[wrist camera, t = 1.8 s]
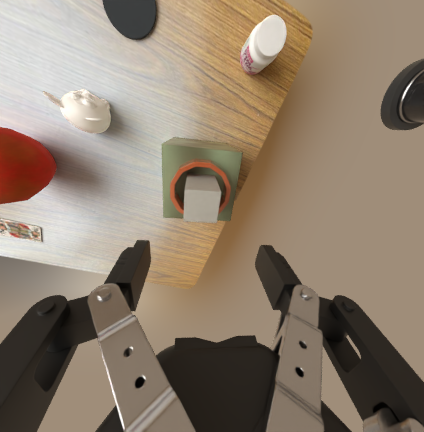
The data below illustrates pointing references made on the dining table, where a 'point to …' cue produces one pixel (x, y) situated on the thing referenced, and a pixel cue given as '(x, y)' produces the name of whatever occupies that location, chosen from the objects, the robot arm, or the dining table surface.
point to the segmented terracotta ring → (190, 165)
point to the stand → (198, 169)
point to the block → (201, 198)
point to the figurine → (84, 110)
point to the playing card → (20, 230)
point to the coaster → (131, 16)
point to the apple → (23, 166)
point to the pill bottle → (263, 44)
